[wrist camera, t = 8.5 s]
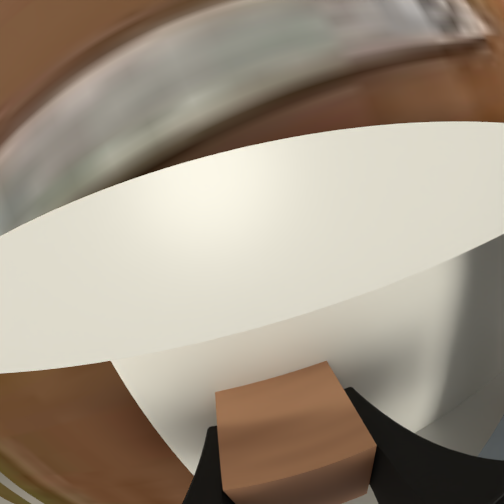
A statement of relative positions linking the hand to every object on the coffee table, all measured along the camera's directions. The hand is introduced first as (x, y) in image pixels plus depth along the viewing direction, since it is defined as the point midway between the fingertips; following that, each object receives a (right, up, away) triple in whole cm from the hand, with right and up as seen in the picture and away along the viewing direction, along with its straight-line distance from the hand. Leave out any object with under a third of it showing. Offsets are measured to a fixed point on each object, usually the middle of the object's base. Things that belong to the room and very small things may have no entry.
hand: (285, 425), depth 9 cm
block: (0, 0, +1) cm, 1 cm away
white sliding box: (+7, +2, +2) cm, 7 cm away
